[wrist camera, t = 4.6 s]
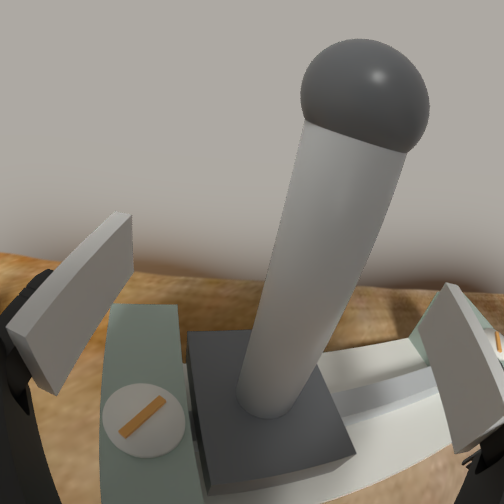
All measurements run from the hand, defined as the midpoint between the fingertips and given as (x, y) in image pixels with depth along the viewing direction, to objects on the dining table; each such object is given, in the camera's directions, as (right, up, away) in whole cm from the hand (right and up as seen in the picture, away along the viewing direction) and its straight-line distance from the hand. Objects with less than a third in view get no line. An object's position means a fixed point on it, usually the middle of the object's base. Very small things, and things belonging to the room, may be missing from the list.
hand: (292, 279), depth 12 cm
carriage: (-1, -9, +4) cm, 10 cm away
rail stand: (+5, -12, +8) cm, 15 cm away
